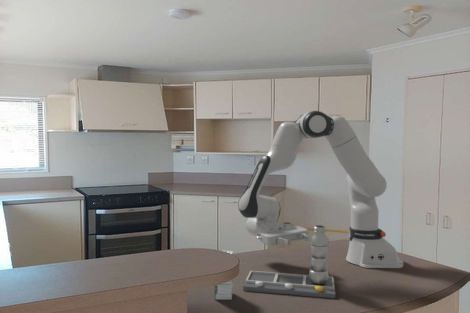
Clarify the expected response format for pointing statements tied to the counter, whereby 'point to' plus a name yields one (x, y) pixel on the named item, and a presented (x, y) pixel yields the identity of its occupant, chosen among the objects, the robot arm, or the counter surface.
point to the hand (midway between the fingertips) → (298, 240)
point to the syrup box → (224, 289)
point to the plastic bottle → (319, 256)
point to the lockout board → (288, 284)
